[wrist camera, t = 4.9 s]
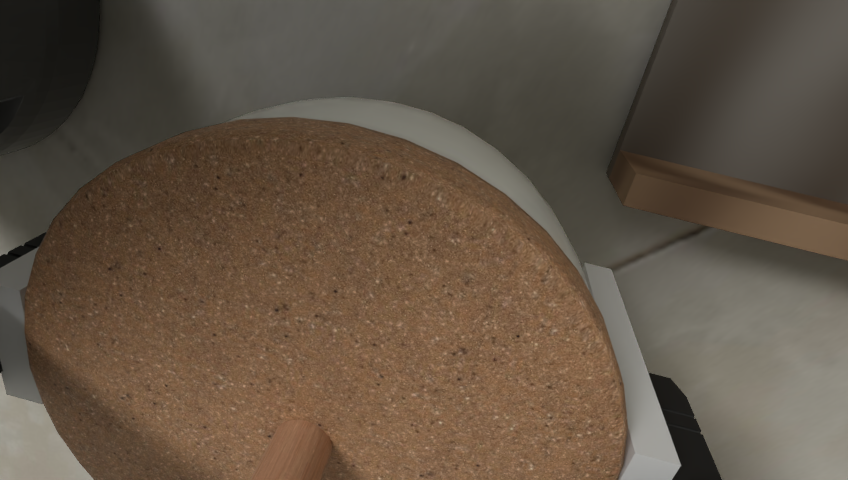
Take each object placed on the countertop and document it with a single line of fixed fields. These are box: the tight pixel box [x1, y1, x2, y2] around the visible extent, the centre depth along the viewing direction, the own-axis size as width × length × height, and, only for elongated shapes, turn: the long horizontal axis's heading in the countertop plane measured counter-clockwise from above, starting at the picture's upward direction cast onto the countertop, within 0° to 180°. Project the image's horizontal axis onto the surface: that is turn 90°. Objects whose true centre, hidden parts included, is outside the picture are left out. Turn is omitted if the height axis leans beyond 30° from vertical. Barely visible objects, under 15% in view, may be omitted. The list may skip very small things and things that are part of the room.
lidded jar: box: [25, 97, 628, 480], centre depth 12 cm, size 11×11×9 cm
